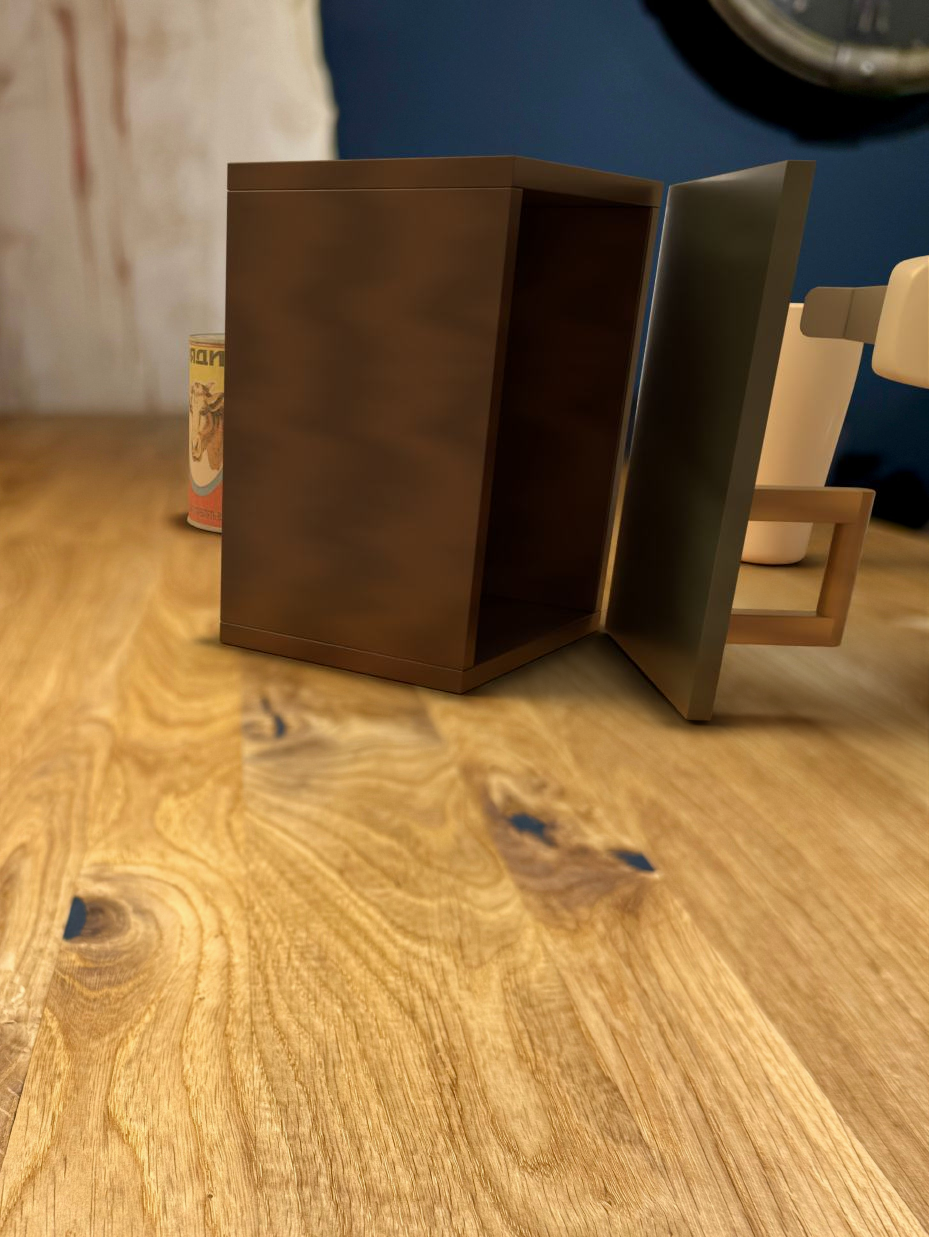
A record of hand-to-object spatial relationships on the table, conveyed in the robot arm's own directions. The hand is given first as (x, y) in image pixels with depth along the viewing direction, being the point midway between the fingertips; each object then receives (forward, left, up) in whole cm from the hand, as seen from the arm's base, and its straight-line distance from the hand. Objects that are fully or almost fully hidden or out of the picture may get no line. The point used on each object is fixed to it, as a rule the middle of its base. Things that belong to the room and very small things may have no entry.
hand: (811, 311), depth 52 cm
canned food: (+39, -18, -15) cm, 46 cm away
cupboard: (+15, +3, -15) cm, 22 cm away
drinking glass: (+8, -30, -15) cm, 34 cm away
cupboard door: (+1, 0, -15) cm, 15 cm away
